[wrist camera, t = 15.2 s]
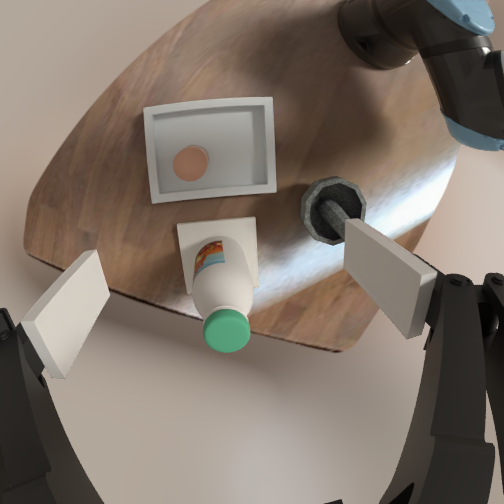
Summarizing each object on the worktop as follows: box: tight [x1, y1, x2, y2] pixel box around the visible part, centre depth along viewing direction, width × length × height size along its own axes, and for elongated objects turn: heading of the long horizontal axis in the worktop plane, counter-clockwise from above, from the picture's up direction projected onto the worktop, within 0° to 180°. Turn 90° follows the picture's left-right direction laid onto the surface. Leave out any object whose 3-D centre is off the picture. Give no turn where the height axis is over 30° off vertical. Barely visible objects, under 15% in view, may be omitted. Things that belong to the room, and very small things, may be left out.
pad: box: [177, 216, 259, 294], centre depth 45 cm, size 12×12×1 cm
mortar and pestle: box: [300, 176, 367, 246], centre depth 39 cm, size 11×9×12 cm
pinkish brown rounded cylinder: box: [173, 145, 209, 181], centre depth 37 cm, size 4×4×5 cm
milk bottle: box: [192, 236, 254, 353], centre depth 36 cm, size 8×8×20 cm
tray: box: [144, 97, 277, 204], centre depth 38 cm, size 18×14×2 cm
